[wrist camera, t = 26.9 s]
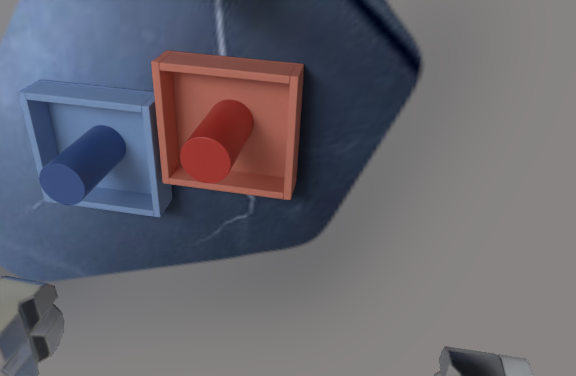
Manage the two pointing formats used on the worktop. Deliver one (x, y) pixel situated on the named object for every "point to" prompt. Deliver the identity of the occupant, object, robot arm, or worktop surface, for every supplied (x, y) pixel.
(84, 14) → the worktop surface
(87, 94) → the blue bin
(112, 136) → the blue peg
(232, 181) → the red bin
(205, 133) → the red peg
